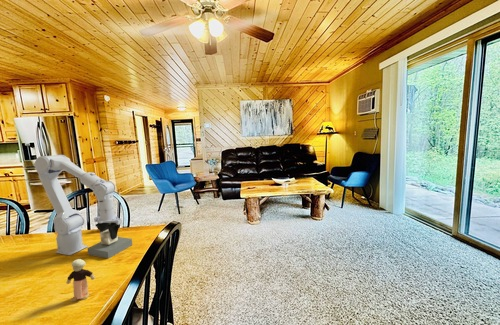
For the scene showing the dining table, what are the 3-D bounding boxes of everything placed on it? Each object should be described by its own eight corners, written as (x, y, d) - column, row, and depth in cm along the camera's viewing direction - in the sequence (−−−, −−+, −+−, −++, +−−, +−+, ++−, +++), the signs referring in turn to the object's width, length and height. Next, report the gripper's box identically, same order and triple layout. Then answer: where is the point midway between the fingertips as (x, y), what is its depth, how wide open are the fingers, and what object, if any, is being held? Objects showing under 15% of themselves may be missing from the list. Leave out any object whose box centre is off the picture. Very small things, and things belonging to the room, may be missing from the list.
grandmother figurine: (64, 305, 64) (59, 266, 62) (69, 297, 67) (64, 259, 66) (95, 297, 67) (91, 259, 65) (98, 289, 70) (94, 253, 69)
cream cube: (101, 243, 94) (100, 232, 94) (110, 238, 99) (109, 228, 98) (108, 244, 93) (107, 233, 92) (117, 240, 97) (116, 229, 97)
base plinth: (88, 254, 93) (87, 248, 92) (113, 241, 104) (112, 235, 104) (108, 258, 89) (107, 251, 89) (132, 244, 100) (131, 238, 100)
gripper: (85, 210, 93) (89, 240, 94) (110, 213, 88) (113, 244, 90) (101, 205, 99) (104, 233, 101) (125, 207, 95) (127, 236, 96)
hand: (109, 237), depth 96 cm, fingers closed on cream cube, 4 cm apart
